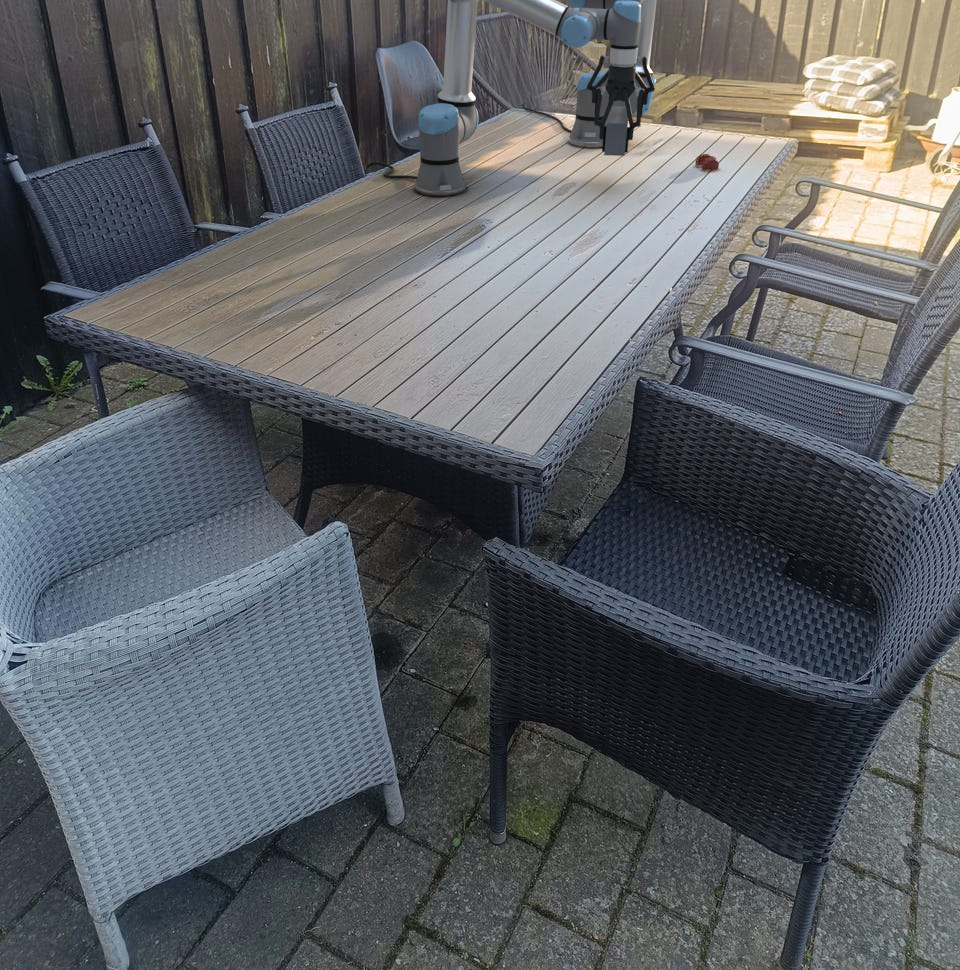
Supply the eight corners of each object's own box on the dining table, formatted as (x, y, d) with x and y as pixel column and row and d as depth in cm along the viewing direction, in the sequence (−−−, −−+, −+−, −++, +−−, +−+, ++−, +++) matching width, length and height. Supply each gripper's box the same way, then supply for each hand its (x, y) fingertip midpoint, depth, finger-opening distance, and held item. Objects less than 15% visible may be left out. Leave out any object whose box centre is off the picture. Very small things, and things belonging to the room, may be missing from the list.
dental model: (710, 150, 279) (721, 156, 273) (708, 163, 282) (719, 170, 275) (694, 152, 278) (705, 158, 272) (693, 165, 281) (704, 172, 274)
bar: (624, 155, 246) (627, 123, 241) (604, 155, 247) (606, 123, 241) (625, 136, 264) (628, 106, 259) (606, 136, 265) (609, 105, 260)
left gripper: (656, 63, 237) (647, 149, 250) (589, 61, 239) (583, 146, 253) (657, 68, 231) (647, 155, 244) (587, 66, 233) (581, 153, 247)
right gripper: (668, 36, 247) (659, 114, 259) (583, 34, 250) (578, 111, 263) (668, 40, 241) (659, 119, 253) (581, 38, 244) (576, 116, 256)
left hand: (614, 150), depth 248 cm, fingers closed on bar, 6 cm apart
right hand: (618, 115), depth 258 cm, fingers open, 13 cm apart
